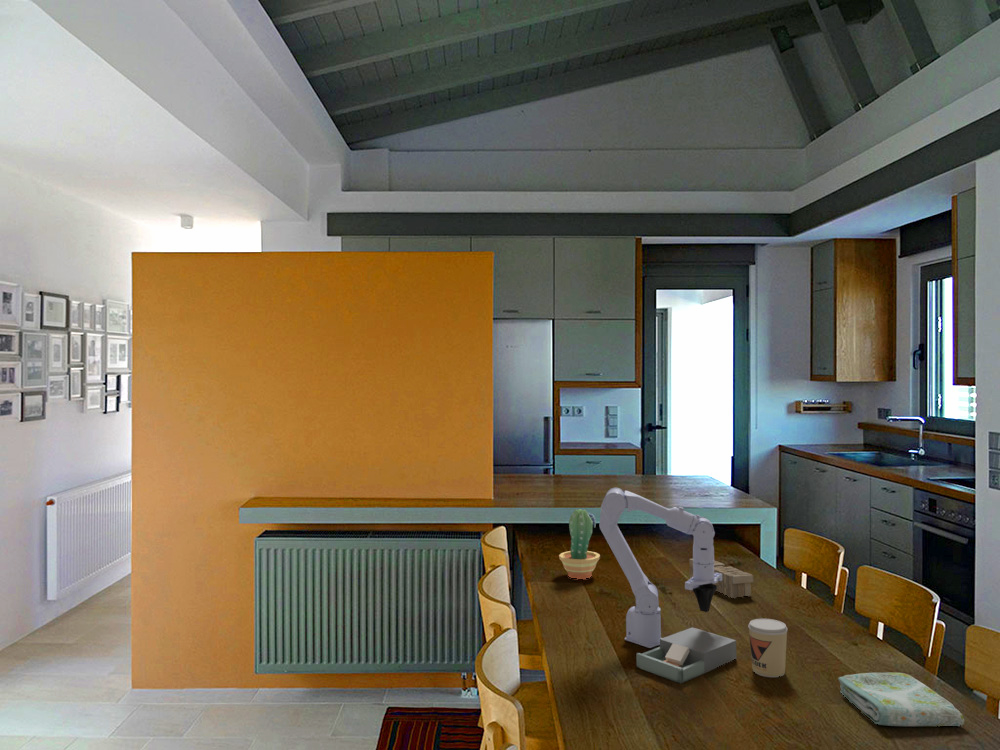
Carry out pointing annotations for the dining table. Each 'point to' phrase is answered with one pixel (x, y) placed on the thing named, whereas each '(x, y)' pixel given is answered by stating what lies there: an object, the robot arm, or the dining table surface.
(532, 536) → the dining table surface
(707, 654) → the grey drawer housing
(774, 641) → the coffee cup
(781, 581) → the dining table surface
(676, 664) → the terracotta tile
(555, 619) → the dining table surface
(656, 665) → the grey-green drawer
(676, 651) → the cream tile
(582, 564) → the potted cactus
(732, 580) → the block tower
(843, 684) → the towel
